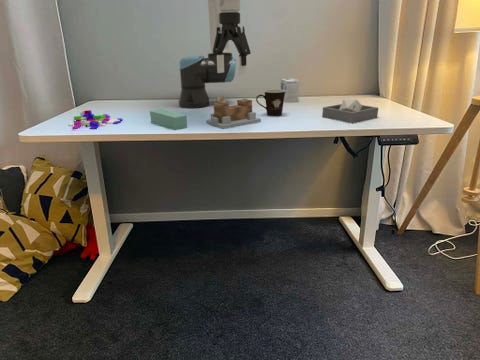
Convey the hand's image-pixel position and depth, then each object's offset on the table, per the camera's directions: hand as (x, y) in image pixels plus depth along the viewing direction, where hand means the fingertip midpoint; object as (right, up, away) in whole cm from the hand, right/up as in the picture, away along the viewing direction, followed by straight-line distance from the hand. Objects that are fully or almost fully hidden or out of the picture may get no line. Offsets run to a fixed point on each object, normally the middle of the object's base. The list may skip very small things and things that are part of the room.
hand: (231, 74), depth 138 cm
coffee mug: (+17, -12, +20) cm, 29 cm away
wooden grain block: (+1, -16, +7) cm, 17 cm away
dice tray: (+48, -14, +12) cm, 52 cm away
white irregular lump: (+48, -15, +12) cm, 52 cm away
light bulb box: (+29, +1, +50) cm, 58 cm away
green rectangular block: (-25, -19, +5) cm, 31 cm away
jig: (+1, -17, +7) cm, 19 cm away
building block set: (-56, -17, +13) cm, 60 cm away
